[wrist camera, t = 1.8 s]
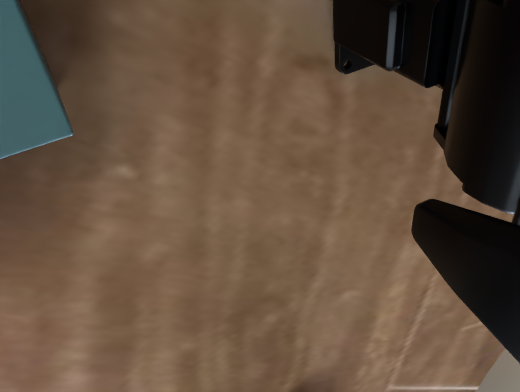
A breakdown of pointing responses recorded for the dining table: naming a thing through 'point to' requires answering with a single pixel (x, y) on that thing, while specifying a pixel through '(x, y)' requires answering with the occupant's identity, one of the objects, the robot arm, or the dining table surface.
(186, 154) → the dining table surface
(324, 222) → the dining table surface
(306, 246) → the dining table surface
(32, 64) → the shelf
